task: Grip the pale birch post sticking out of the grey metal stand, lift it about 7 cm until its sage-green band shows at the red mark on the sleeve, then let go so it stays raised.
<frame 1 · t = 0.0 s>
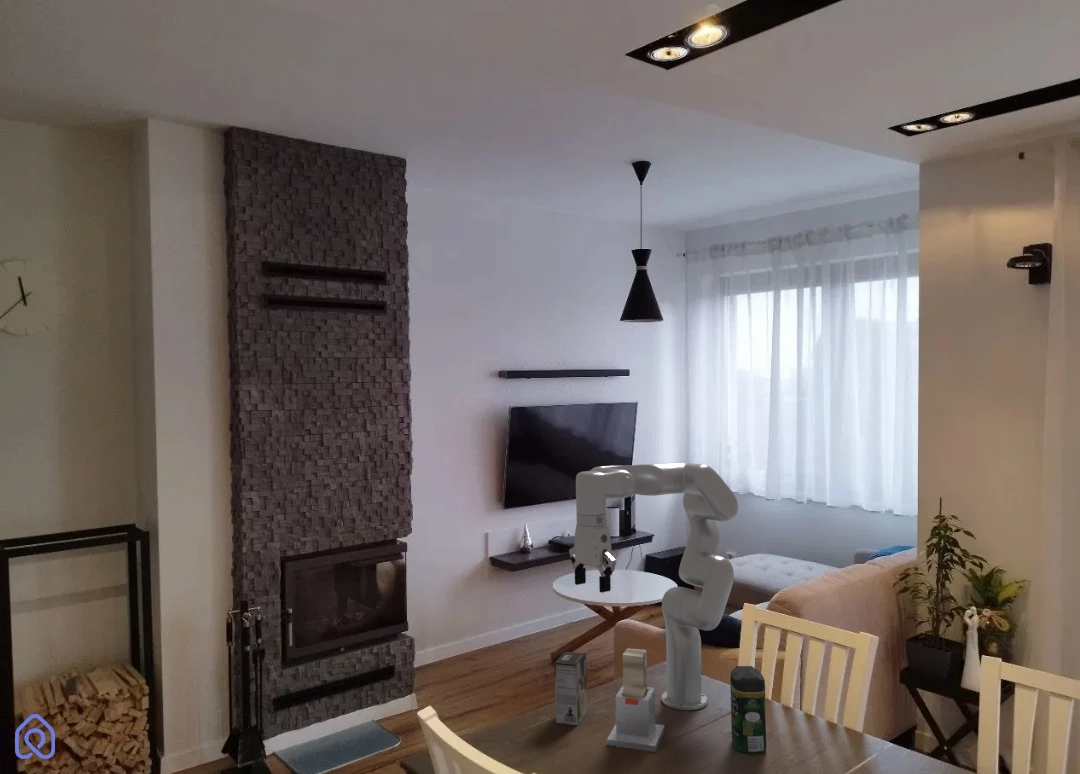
hand: (592, 587, 197), 37 cm above the table, tool pointing down, fingers open, 9 cm apart
coffee jar: (748, 746, 189), on the table
post: (635, 692, 195), point 12 cm above the table, slide at 0.0 cm
stand: (636, 738, 195), on the table
coffee box: (571, 718, 208), on the table
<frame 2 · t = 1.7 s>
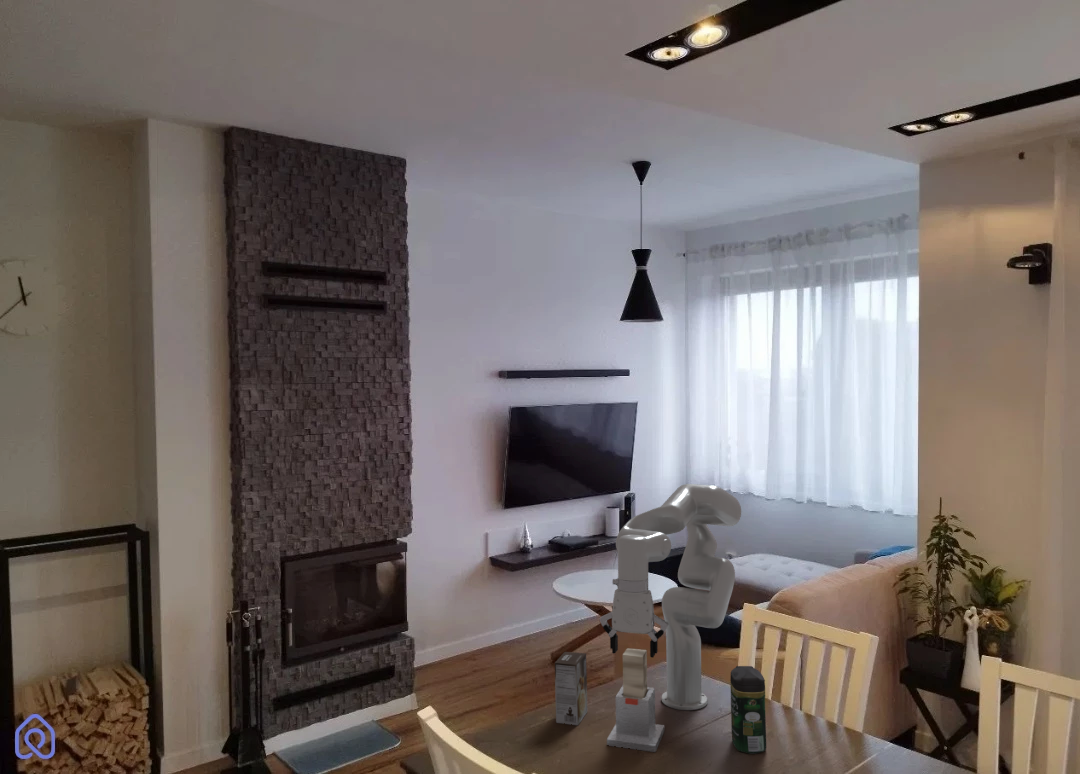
hand: (633, 653, 194), 21 cm above the table, tool pointing down, fingers open, 9 cm apart
nothing on the table moved.
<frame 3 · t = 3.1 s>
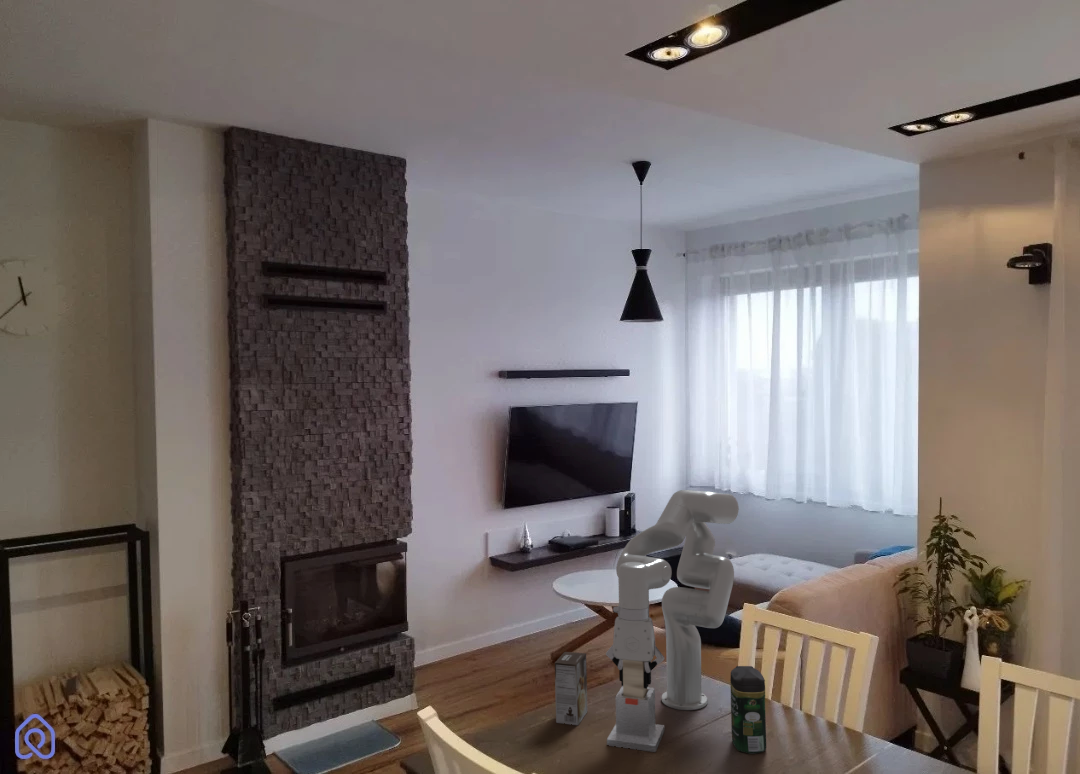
hand: (635, 684, 195), 13 cm above the table, tool pointing down, fingers closed on post, 5 cm apart
post: (635, 692, 195), point 11 cm above the table, slide at 0.0 cm, touching gripper, stand
everything else where it was.
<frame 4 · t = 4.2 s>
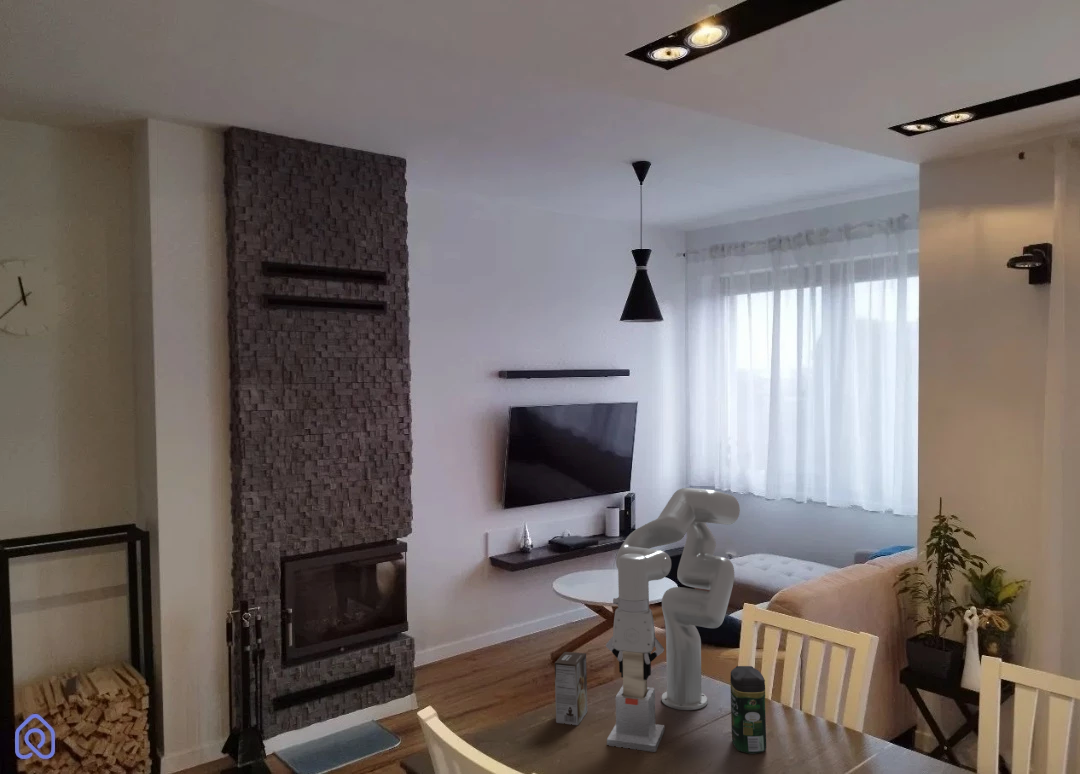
hand: (635, 676, 195), 16 cm above the table, tool pointing down, fingers closed on post, 5 cm apart
post: (635, 683, 195), point 14 cm above the table, slide at 2.1 cm, touching gripper
everything else where it was.
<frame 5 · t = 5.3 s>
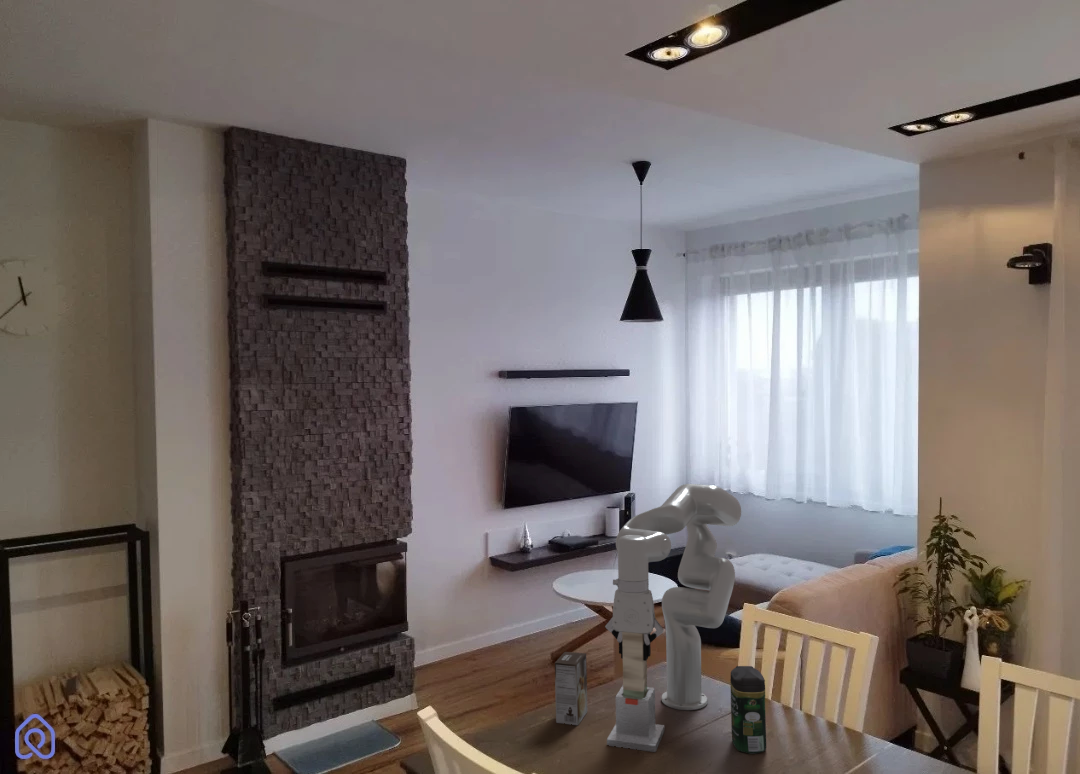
hand: (634, 657, 195), 20 cm above the table, tool pointing down, fingers closed on post, 5 cm apart
post: (634, 664, 195), point 18 cm above the table, slide at 6.9 cm, touching gripper
everything else where it was.
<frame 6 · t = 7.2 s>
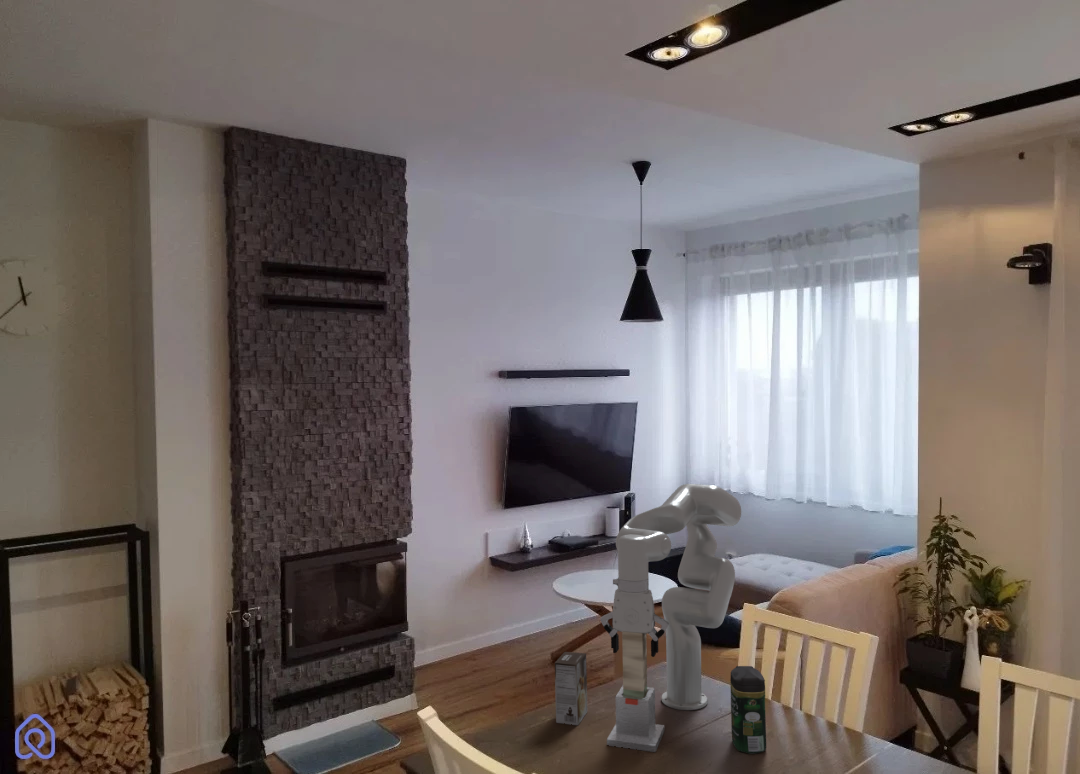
hand: (634, 653, 195), 21 cm above the table, tool pointing down, fingers open, 9 cm apart
post: (634, 664, 195), point 18 cm above the table, slide at 7.0 cm
everything else where it was.
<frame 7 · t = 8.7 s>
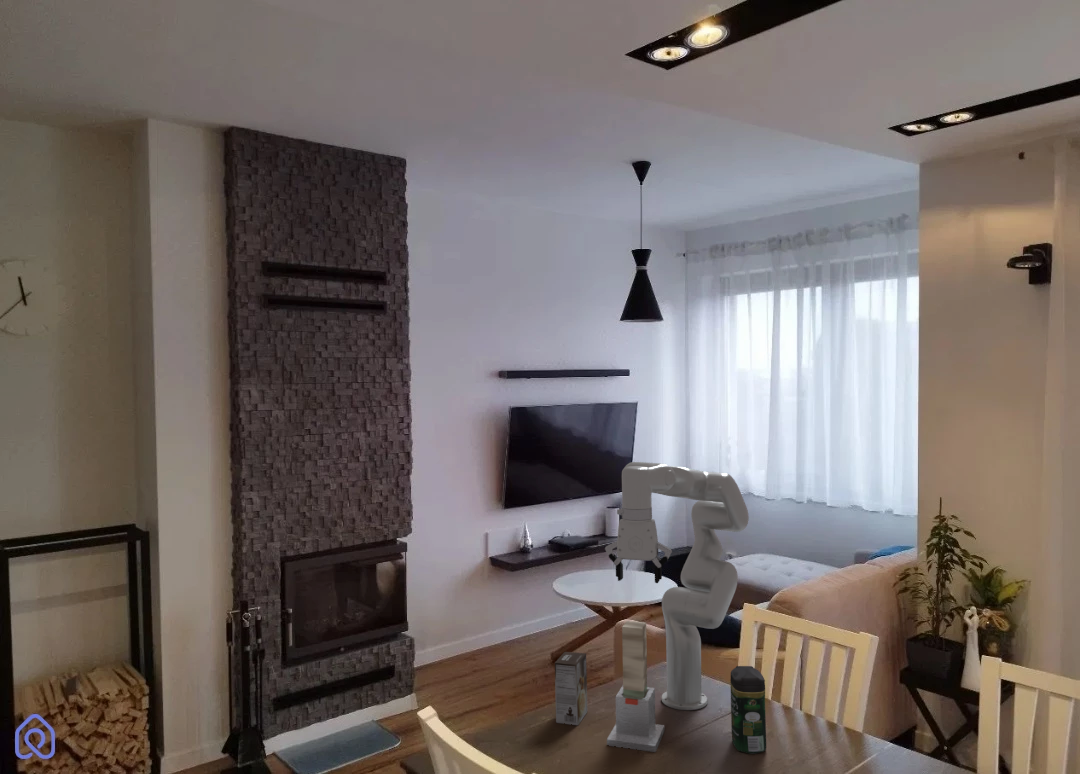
hand: (638, 580, 200), 38 cm above the table, tool pointing down, fingers open, 9 cm apart
nothing on the table moved.
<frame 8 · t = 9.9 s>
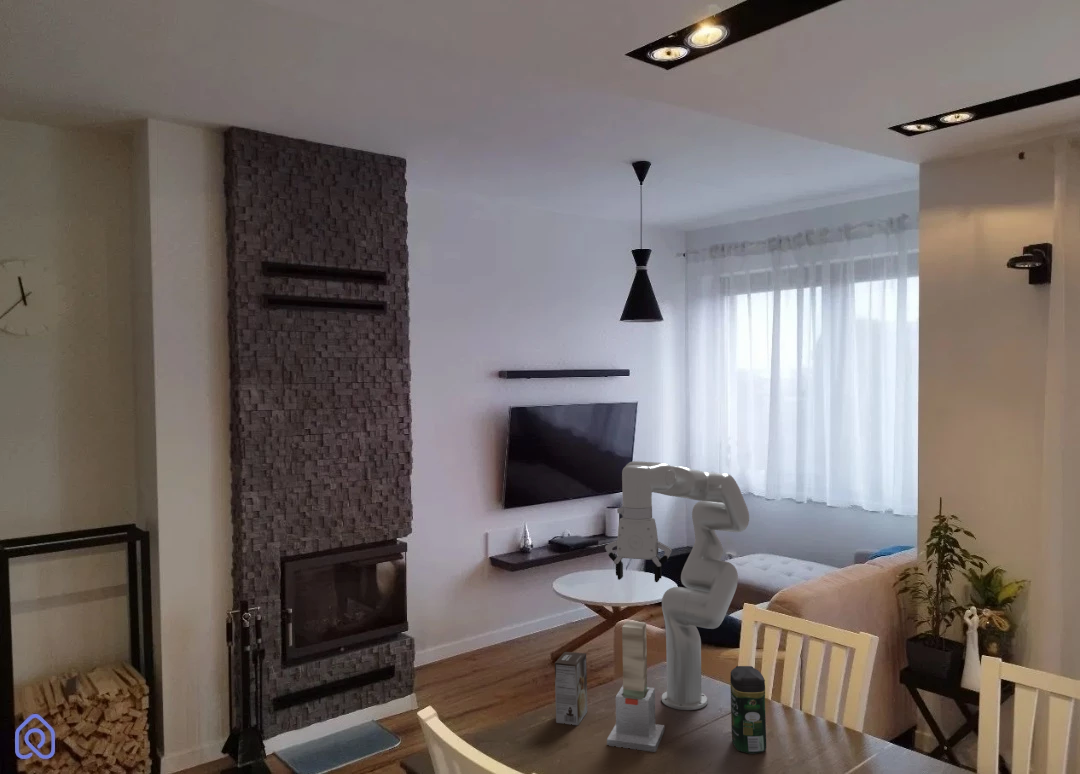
hand: (638, 579, 200), 38 cm above the table, tool pointing down, fingers open, 9 cm apart
nothing on the table moved.
at the end: post slide at 7.0 cm; the gripper is holding nothing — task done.
